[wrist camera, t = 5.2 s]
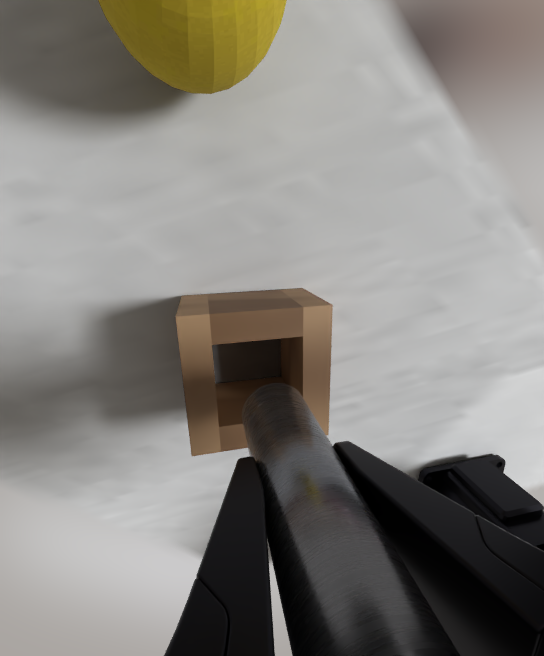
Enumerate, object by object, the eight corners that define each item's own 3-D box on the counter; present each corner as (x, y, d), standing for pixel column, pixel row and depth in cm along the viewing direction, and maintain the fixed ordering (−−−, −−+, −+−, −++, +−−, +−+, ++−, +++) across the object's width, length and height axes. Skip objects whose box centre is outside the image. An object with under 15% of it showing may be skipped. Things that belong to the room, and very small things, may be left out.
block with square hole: (302, 393, 18) (328, 434, 14) (193, 406, 17) (191, 456, 13) (302, 288, 16) (332, 304, 13) (181, 295, 15) (175, 316, 12)
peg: (304, 435, 11) (501, 825, 4) (243, 444, 11) (332, 902, 3) (305, 379, 11) (542, 718, 3) (240, 387, 10) (340, 793, 3)
